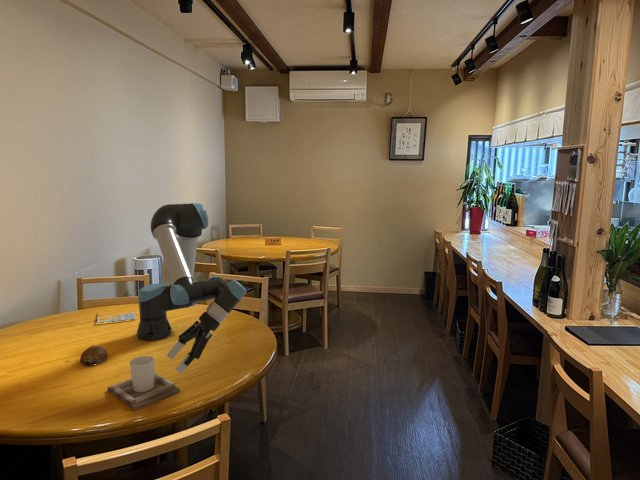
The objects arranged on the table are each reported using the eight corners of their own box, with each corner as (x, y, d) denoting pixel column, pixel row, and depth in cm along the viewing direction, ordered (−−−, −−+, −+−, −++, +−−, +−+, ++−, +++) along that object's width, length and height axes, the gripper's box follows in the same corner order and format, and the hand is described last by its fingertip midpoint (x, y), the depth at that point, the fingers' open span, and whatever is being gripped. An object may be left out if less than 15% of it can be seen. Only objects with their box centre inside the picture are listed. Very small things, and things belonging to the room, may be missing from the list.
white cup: (147, 394, 149) (145, 366, 147) (126, 392, 150) (124, 364, 149) (160, 383, 156) (158, 356, 155) (140, 381, 158) (138, 355, 156)
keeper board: (107, 390, 154) (107, 384, 153) (150, 374, 166) (150, 368, 165) (135, 410, 141) (135, 403, 141) (180, 392, 153) (179, 385, 153)
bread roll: (111, 368, 180) (116, 348, 182) (91, 367, 170) (97, 346, 173) (92, 364, 183) (97, 345, 185) (72, 363, 174) (77, 343, 176)
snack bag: (94, 326, 219) (94, 322, 218) (97, 314, 237) (97, 310, 237) (136, 321, 226) (135, 317, 225) (135, 310, 244) (135, 306, 244)
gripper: (232, 332, 154) (190, 383, 149) (210, 313, 175) (173, 357, 170) (216, 320, 151) (173, 372, 145) (196, 302, 172) (158, 347, 166)
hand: (173, 364), depth 158 cm, fingers open, 13 cm apart
